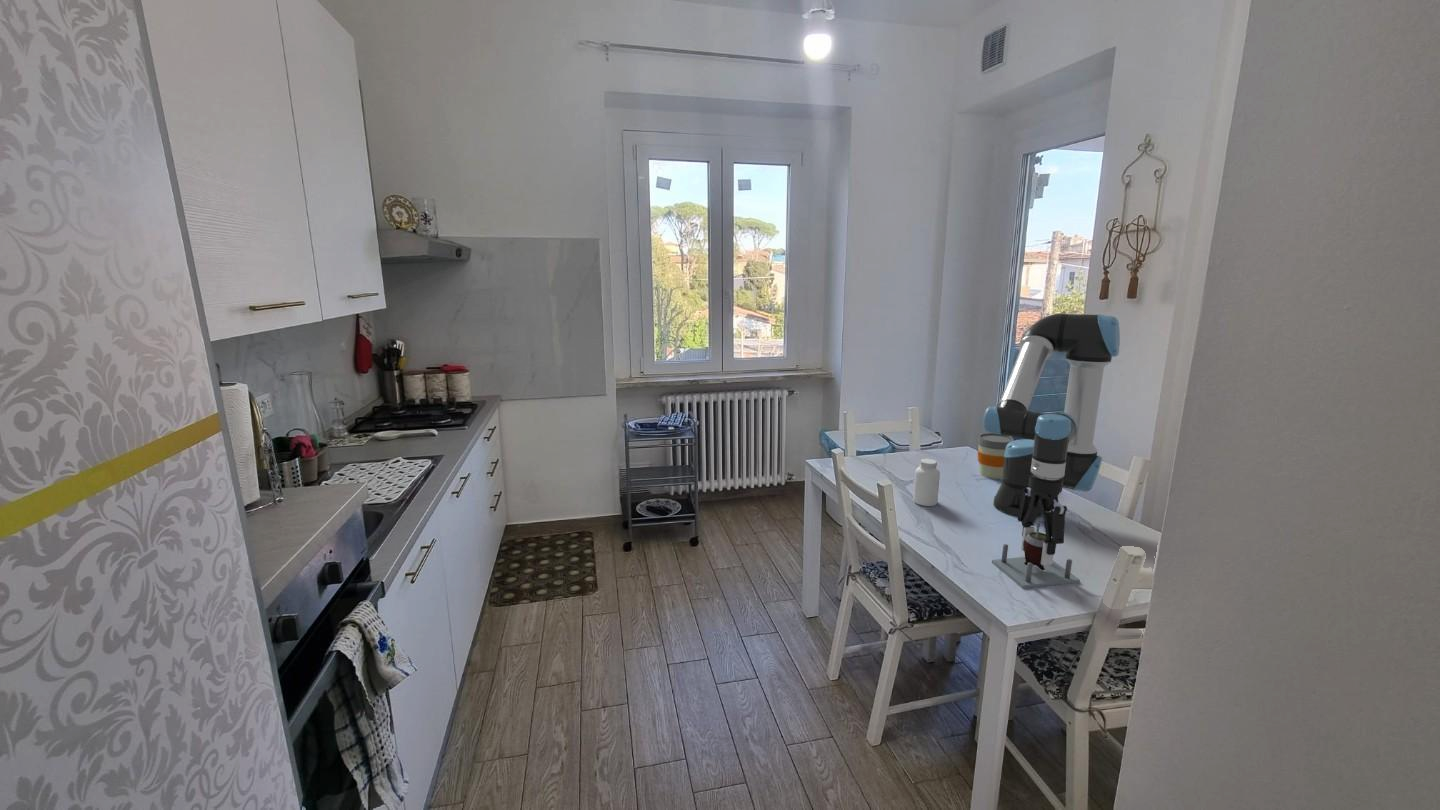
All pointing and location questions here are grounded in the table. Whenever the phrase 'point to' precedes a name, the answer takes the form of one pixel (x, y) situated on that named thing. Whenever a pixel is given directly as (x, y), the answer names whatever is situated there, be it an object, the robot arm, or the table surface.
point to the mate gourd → (1034, 547)
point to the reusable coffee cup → (992, 454)
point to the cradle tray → (1034, 571)
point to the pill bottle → (926, 483)
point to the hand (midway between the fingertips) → (1036, 556)
